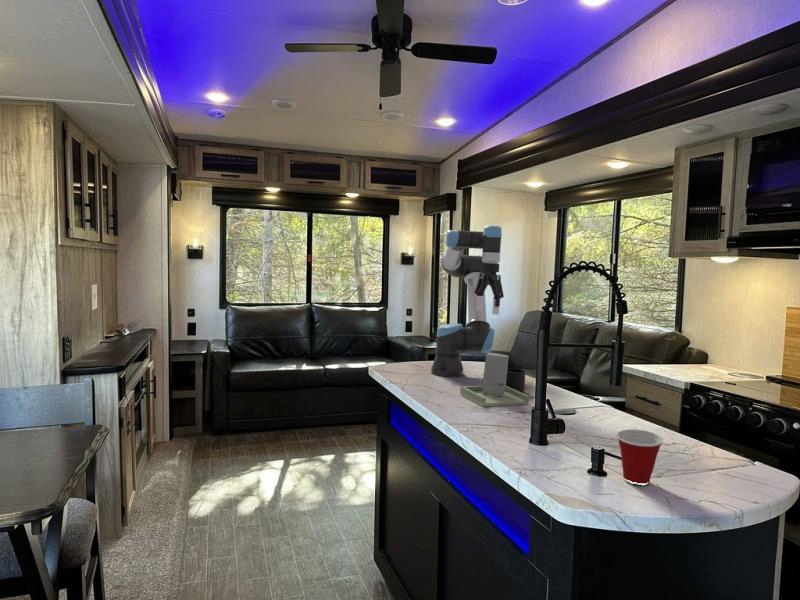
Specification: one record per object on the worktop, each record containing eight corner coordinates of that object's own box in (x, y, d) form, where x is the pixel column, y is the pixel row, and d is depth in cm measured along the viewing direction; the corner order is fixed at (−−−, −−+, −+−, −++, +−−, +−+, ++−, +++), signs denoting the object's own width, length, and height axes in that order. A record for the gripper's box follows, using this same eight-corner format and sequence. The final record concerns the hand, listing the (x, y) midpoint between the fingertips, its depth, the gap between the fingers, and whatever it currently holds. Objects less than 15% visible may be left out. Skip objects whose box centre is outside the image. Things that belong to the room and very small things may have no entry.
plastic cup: (603, 476, 137) (606, 430, 136) (632, 470, 142) (636, 426, 141) (638, 494, 127) (643, 444, 126) (669, 487, 132) (673, 439, 131)
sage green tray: (460, 394, 214) (460, 386, 214) (503, 392, 221) (503, 384, 221) (482, 406, 197) (482, 398, 197) (528, 404, 204) (529, 396, 204)
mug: (514, 387, 232) (516, 366, 231) (528, 394, 220) (529, 372, 219) (494, 387, 229) (496, 366, 228) (507, 394, 218) (509, 372, 217)
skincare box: (481, 394, 211) (484, 354, 209) (485, 390, 217) (488, 351, 216) (503, 397, 207) (505, 356, 206) (506, 393, 214) (509, 353, 213)
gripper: (468, 261, 237) (465, 309, 239) (498, 263, 214) (494, 315, 216) (483, 262, 240) (480, 309, 242) (514, 263, 217) (510, 316, 218)
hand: (487, 312), depth 229 cm, fingers open, 13 cm apart
